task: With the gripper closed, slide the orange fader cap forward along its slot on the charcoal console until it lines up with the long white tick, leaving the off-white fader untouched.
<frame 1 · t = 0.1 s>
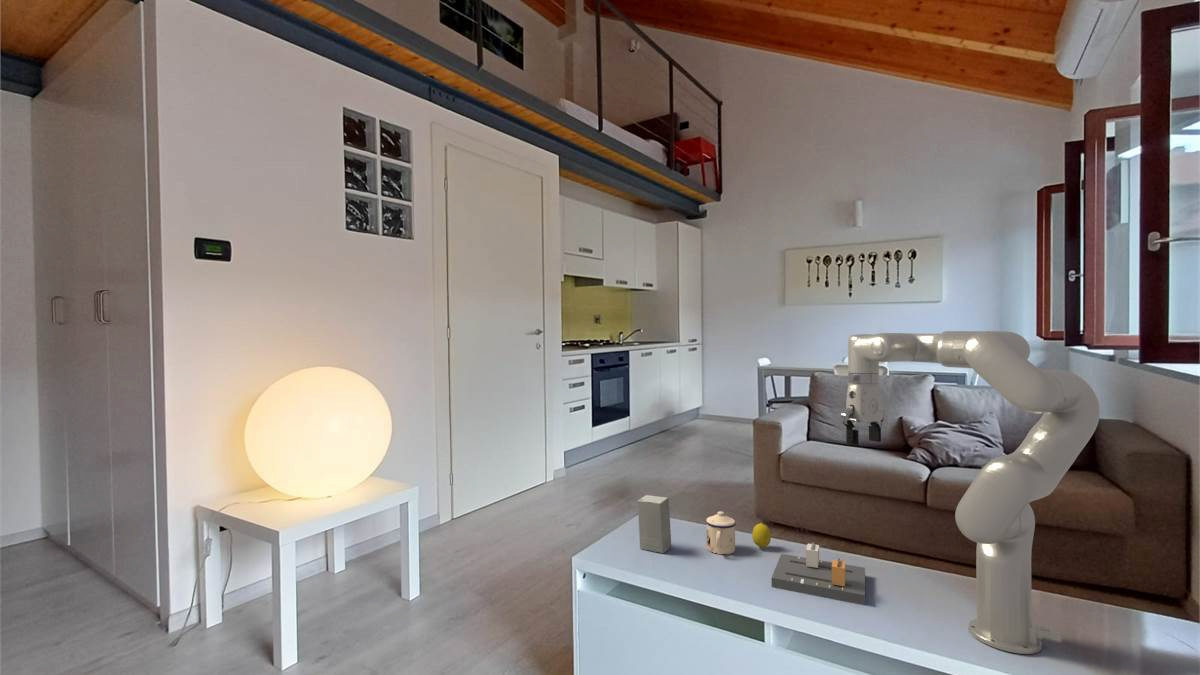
hand: (863, 442, 144), 37 cm above the table, tool pointing down, fingers open, 9 cm apart
fader white: (812, 554, 148), point 5 cm above the table, slide at 0.0 cm
fader orange: (838, 571, 137), point 5 cm above the table, slide at 1.0 cm
lemon: (761, 549, 166), on the table
console: (819, 581, 143), on the table
skincare box: (654, 549, 166), on the table
teacup with lid: (720, 552, 164), on the table
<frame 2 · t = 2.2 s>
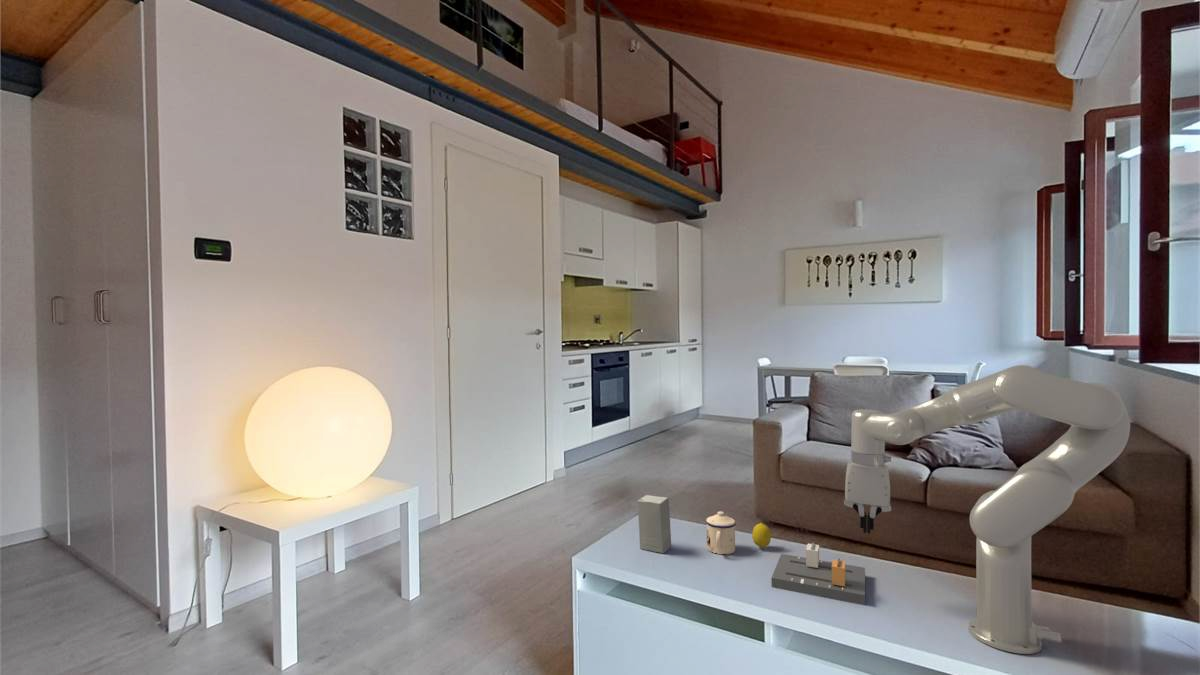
hand: (866, 531, 134), 17 cm above the table, tool pointing down, fingers closed
nothing on the table moved.
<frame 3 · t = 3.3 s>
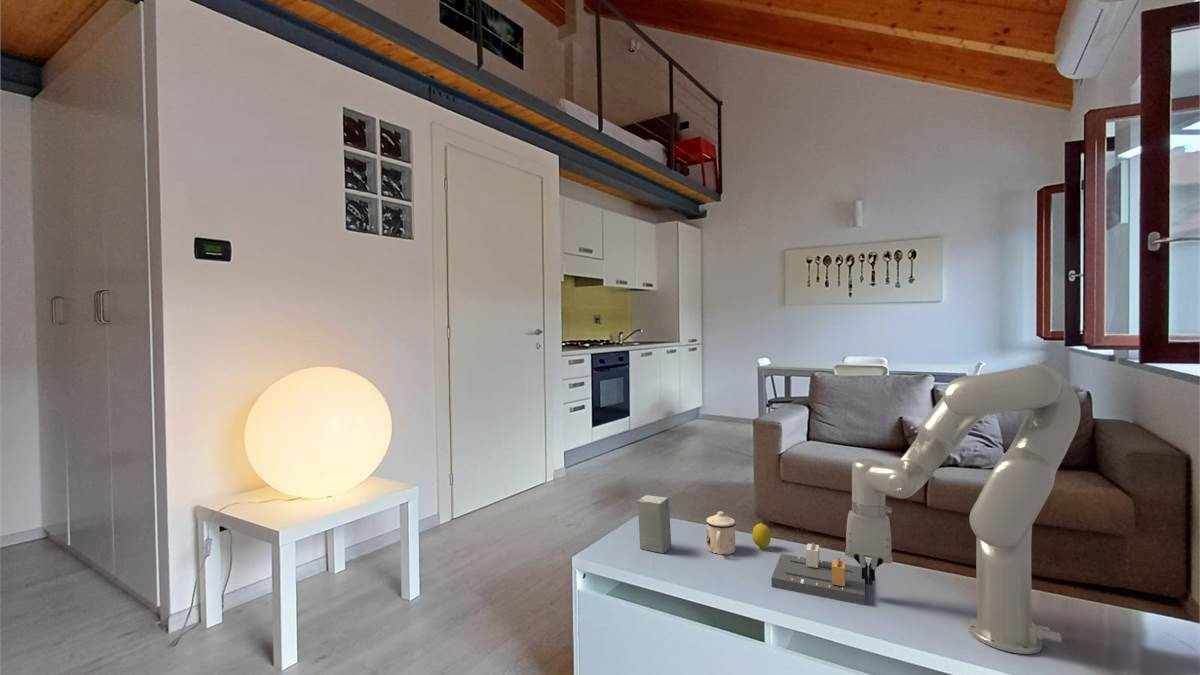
hand: (868, 582, 134), 4 cm above the table, tool pointing down, fingers closed
nothing on the table moved.
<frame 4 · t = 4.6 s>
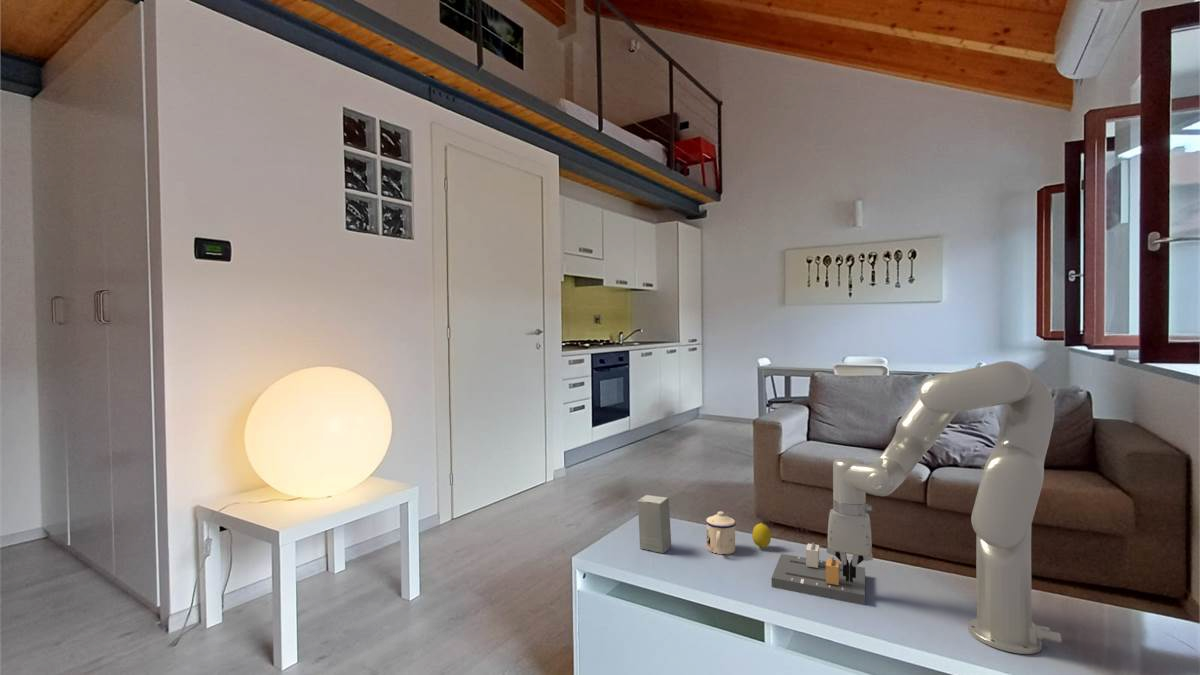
hand: (849, 579, 136), 4 cm above the table, tool pointing down, fingers closed
fader orange: (832, 570, 137), point 5 cm above the table, slide at 2.4 cm, touching gripper
everything else where it was.
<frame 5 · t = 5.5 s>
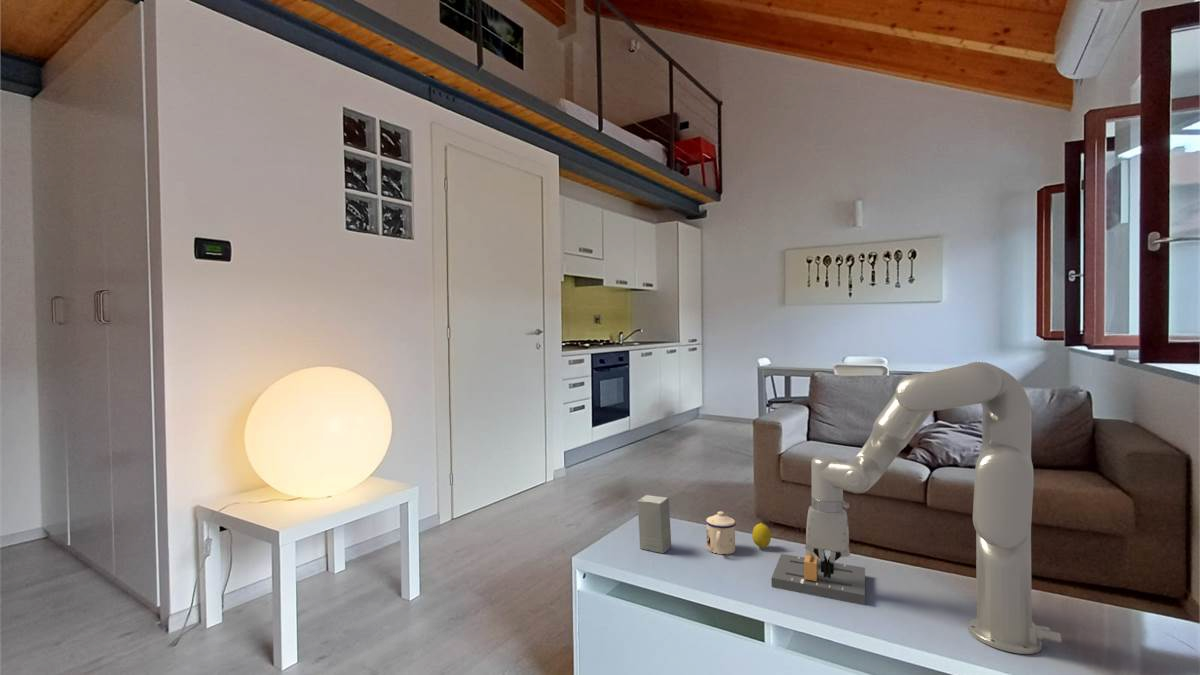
hand: (827, 575, 138), 4 cm above the table, tool pointing down, fingers closed
fader orange: (811, 566, 140), point 5 cm above the table, slide at 7.6 cm, touching gripper
everything else where it was.
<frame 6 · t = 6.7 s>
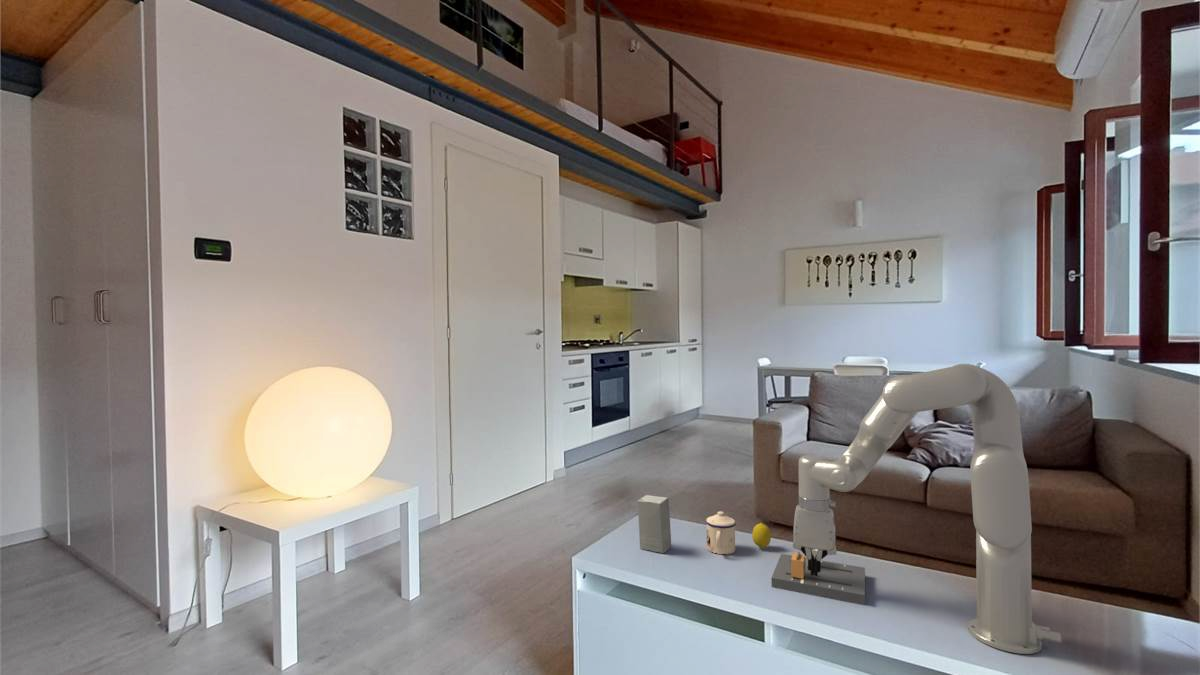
hand: (814, 573, 139), 4 cm above the table, tool pointing down, fingers closed
fader orange: (798, 564, 141), point 5 cm above the table, slide at 10.8 cm, touching gripper
everything else where it was.
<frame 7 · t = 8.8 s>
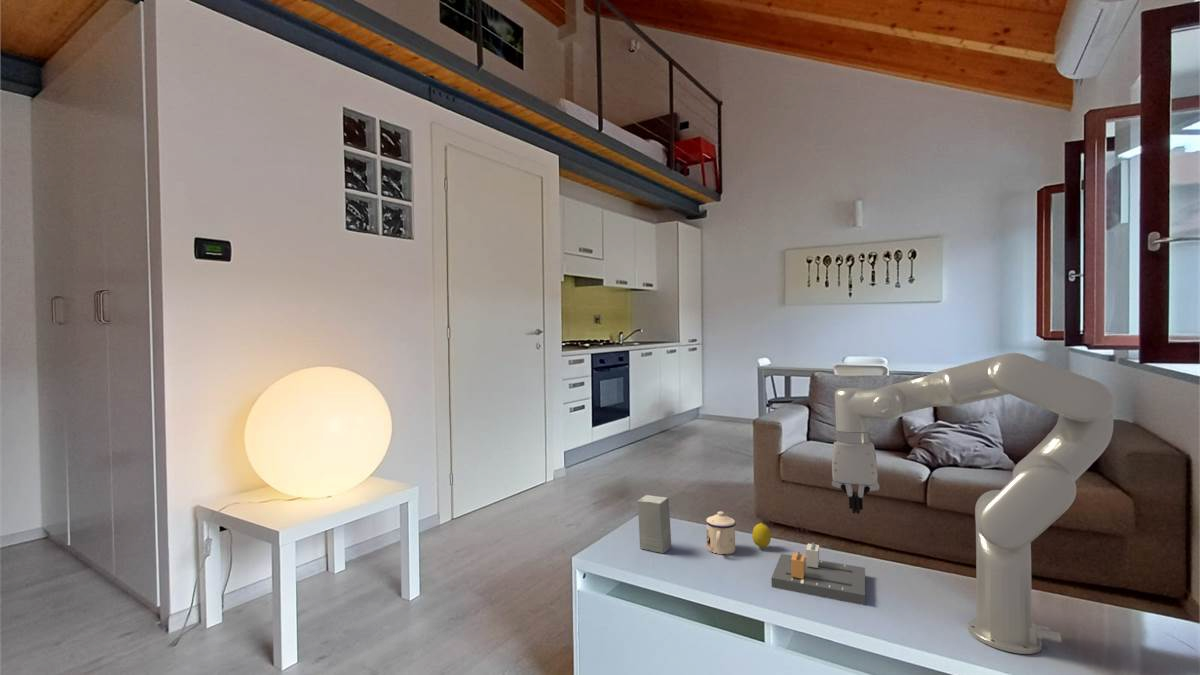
hand: (856, 511, 132), 22 cm above the table, tool pointing down, fingers closed
fader orange: (798, 564, 141), point 5 cm above the table, slide at 10.8 cm
everything else where it was.
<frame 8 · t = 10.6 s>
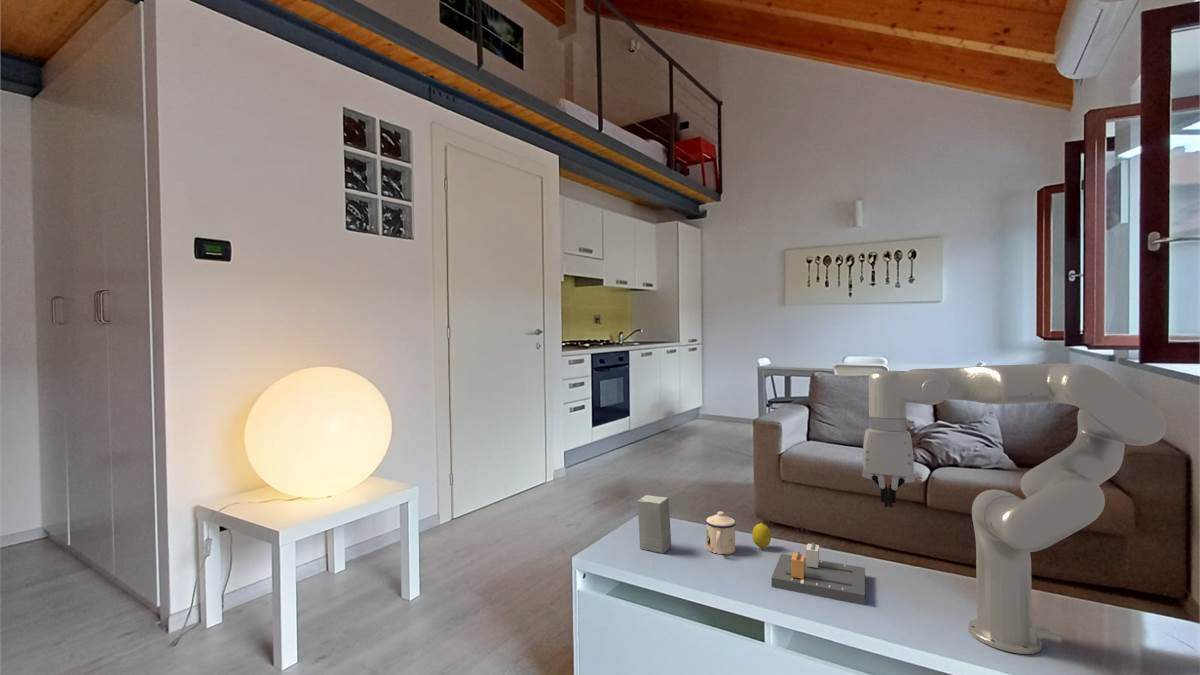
hand: (888, 505, 121), 27 cm above the table, tool pointing down, fingers closed
nothing on the table moved.
at the end: fader orange slide at 10.8 cm; fader white slide at 0.0 cm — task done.
